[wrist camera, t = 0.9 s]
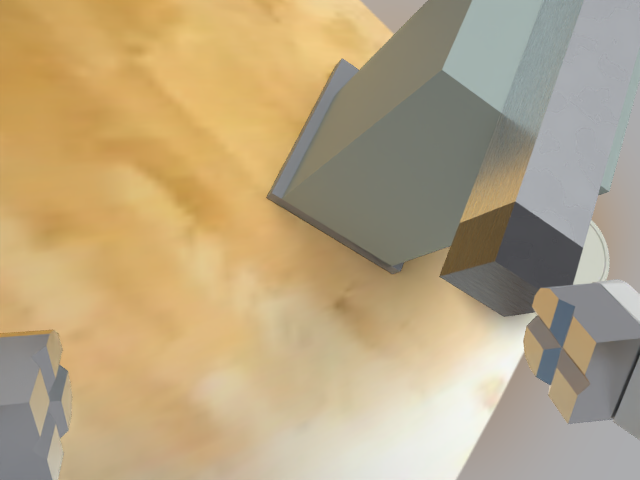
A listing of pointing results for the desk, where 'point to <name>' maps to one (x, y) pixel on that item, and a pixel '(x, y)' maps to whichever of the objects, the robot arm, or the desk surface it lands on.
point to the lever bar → (546, 155)
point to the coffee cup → (593, 258)
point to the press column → (413, 131)
